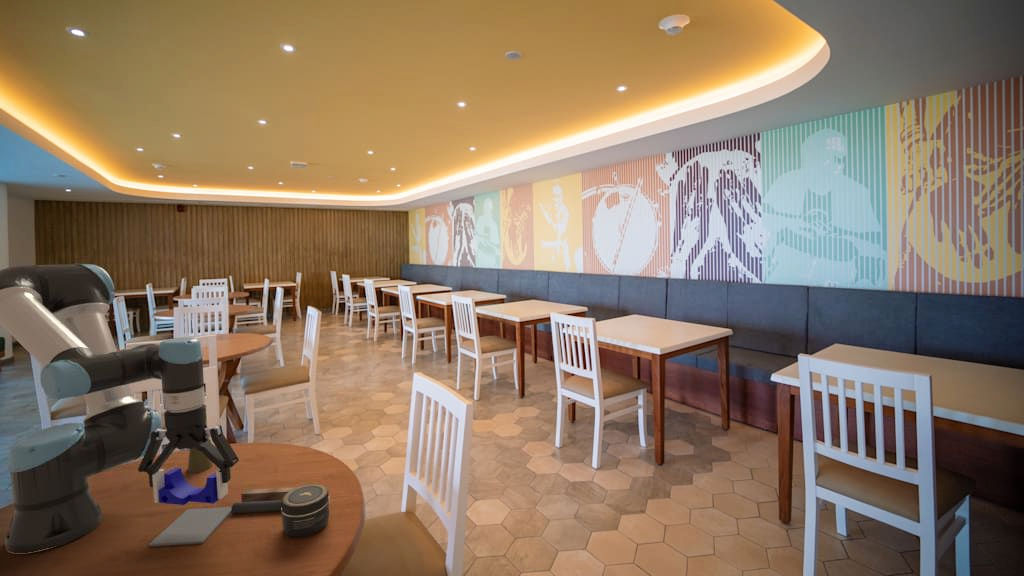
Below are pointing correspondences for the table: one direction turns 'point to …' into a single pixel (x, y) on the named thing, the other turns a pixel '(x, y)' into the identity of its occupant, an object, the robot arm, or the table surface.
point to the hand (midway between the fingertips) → (192, 497)
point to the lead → (256, 506)
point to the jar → (305, 510)
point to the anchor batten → (265, 494)
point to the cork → (198, 461)
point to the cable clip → (186, 489)
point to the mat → (192, 526)
